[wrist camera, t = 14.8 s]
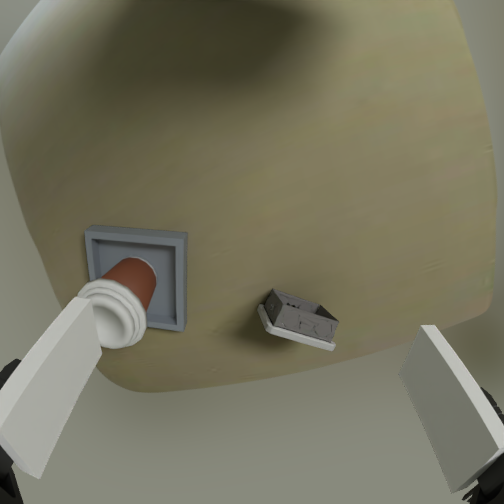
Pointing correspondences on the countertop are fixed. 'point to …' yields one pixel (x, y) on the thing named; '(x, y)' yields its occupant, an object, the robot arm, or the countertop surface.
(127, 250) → the dock tray
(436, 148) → the countertop surface
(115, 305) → the coffee cup
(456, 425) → the robot arm
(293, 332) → the electrical switch
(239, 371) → the countertop surface
